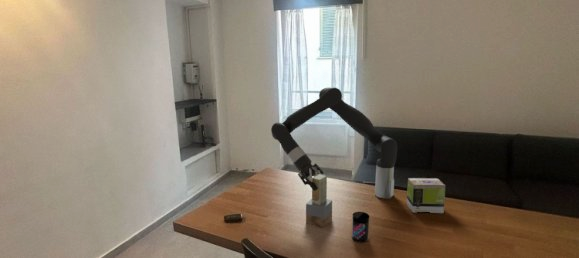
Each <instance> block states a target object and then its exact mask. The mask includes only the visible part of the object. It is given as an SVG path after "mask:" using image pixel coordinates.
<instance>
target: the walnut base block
mask: <svg viewBox="0 0 579 258" xmlns="http://www.w3.org/2000/svg"><path fill="white" fill-rule="evenodd" d="M332 221H333V210H332V211H331V212H330V213H329V214H328V215H327V216H326V217H325V218H320V217H316V216H312V215H308V214H306V213H305V223H306V224H307V225H309V226H310V225H311V226H314V227H317V228H320V229H325V228H326V227H327V226H328V225H329V223H331V222H332Z"/></svg>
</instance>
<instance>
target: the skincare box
mask: <svg viewBox="0 0 579 258" xmlns="http://www.w3.org/2000/svg"><path fill="white" fill-rule="evenodd" d="M327 181H328V176H327V175H324V174H323V175H321V174H318V175H316V176H315V177H314V176H312V182H314V183H315V185H316V186H317V187H318V189H317V190H316V191H314V190H313V189H312V188H311V199H312V203H315V204H318V205H320V204H322V203H323V202H325V201H326V200H327V197H328V195H327V193H328V192H327V191H328V190H327V189H328V187H327V185H328V182H327Z"/></svg>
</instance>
